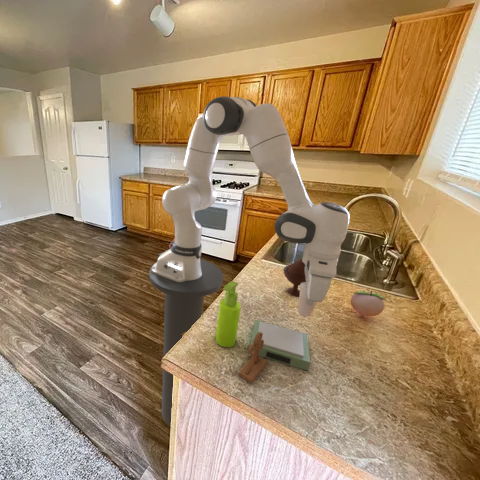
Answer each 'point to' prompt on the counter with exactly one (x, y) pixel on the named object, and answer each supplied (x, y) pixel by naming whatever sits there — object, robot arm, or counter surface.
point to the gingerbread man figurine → (253, 361)
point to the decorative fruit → (367, 303)
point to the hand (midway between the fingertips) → (308, 298)
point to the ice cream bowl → (295, 276)
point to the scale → (283, 344)
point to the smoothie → (304, 302)
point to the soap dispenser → (228, 317)
